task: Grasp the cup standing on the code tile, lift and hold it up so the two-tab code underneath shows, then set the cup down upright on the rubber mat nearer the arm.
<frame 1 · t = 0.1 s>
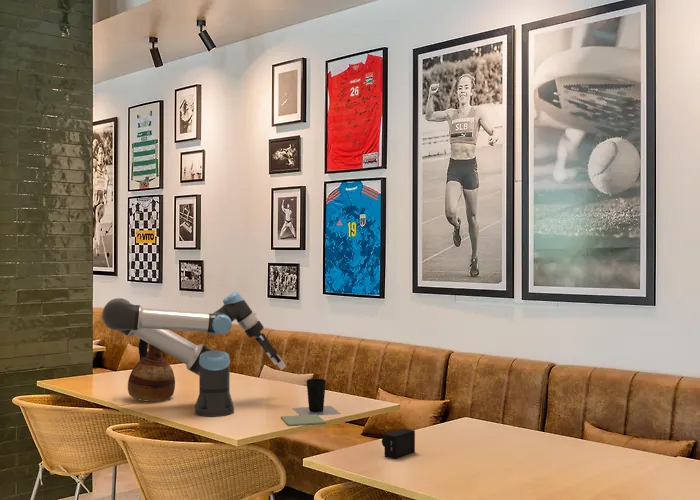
hand: (280, 365, 314), 15 cm above the table, tool tilted 35°, fingers open, 13 cm apart
digital camera: (398, 455, 232), on the table
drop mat: (302, 420, 279), on the table
code tile: (316, 410, 297), on the table
cup: (316, 411, 297), resting on code tile
ceramic pitcher: (151, 399, 320), on the table
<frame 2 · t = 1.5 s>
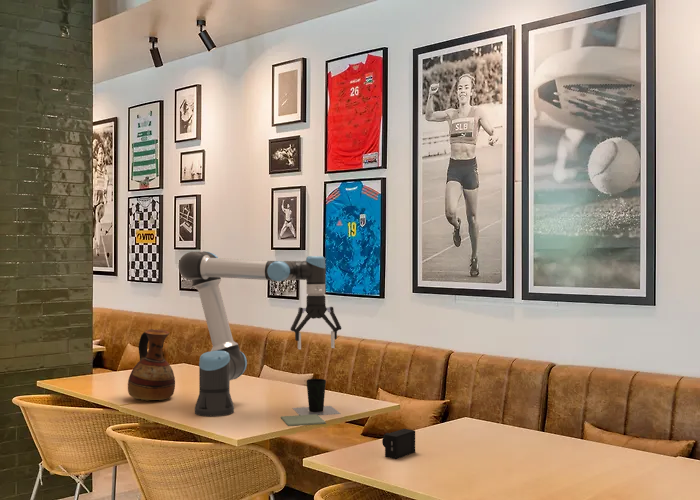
hand: (316, 348, 297), 25 cm above the table, tool pointing down, fingers open, 13 cm apart
nothing on the table moved.
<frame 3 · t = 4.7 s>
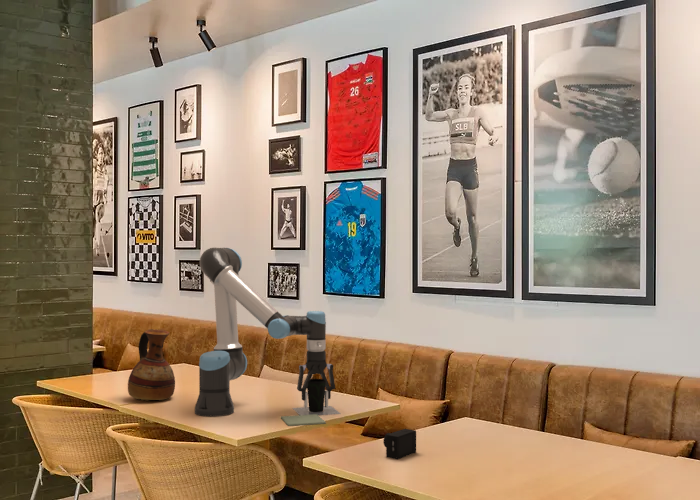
hand: (316, 407, 297), 1 cm above the table, tool pointing down, fingers closed on cup, 8 cm apart
cup: (316, 411, 297), resting on code tile, touching gripper
everything else where it was.
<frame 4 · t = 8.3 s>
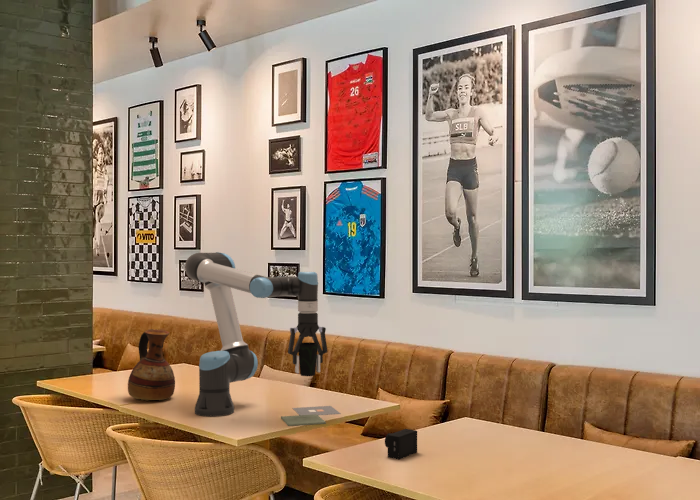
hand: (307, 372, 285), 17 cm above the table, tool pointing down, fingers closed on cup, 8 cm apart
cup: (307, 375, 285), point 16 cm above the table, touching gripper
everything else where it was.
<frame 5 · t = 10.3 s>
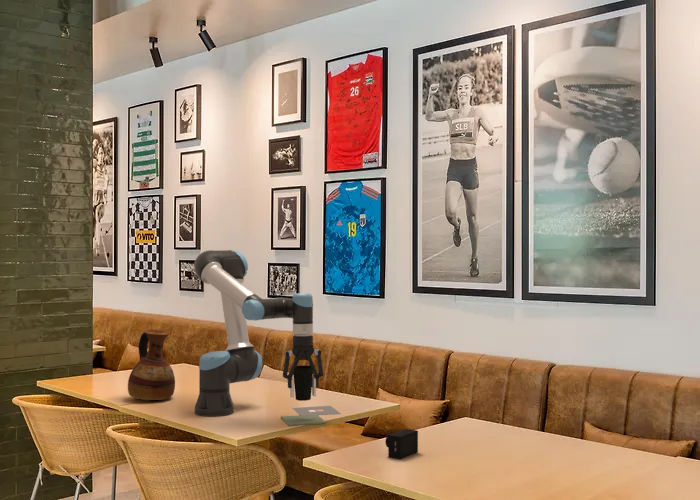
hand: (303, 396, 279), 9 cm above the table, tool pointing down, fingers closed on cup, 8 cm apart
cup: (303, 399, 279), point 8 cm above the table, touching gripper
when the fingers open (3 cm above the table, at t = 12.2 s): cup drops 1 cm, resting on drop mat.
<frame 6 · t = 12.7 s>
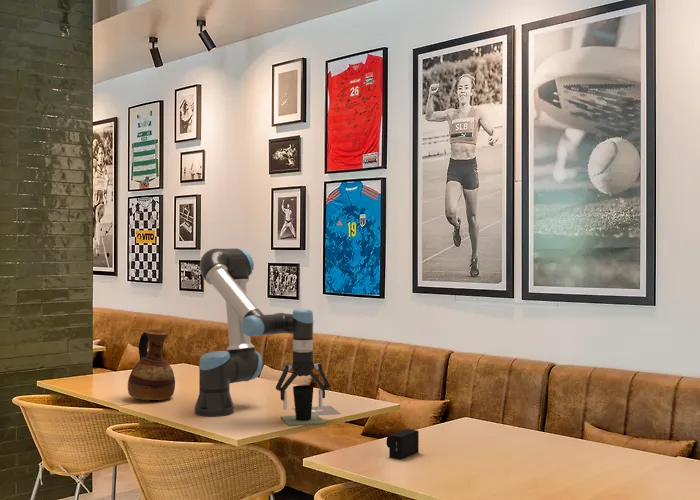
hand: (302, 408, 279), 5 cm above the table, tool pointing down, fingers open, 13 cm apart
cup: (303, 419, 279), resting on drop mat
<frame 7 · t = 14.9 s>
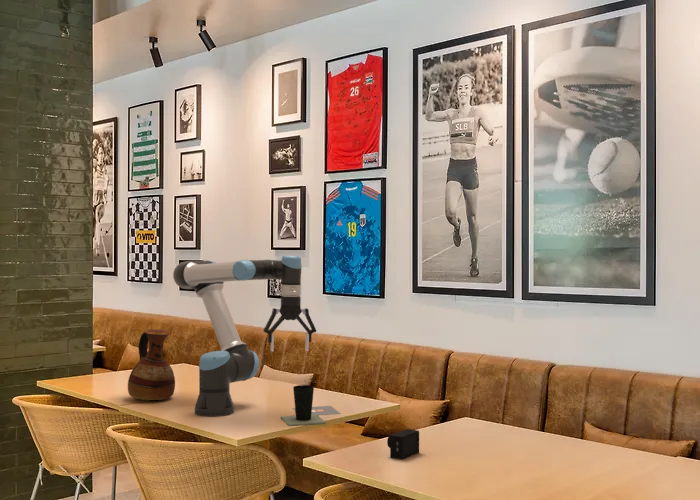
hand: (289, 351, 288), 25 cm above the table, tool pointing down, fingers open, 13 cm apart
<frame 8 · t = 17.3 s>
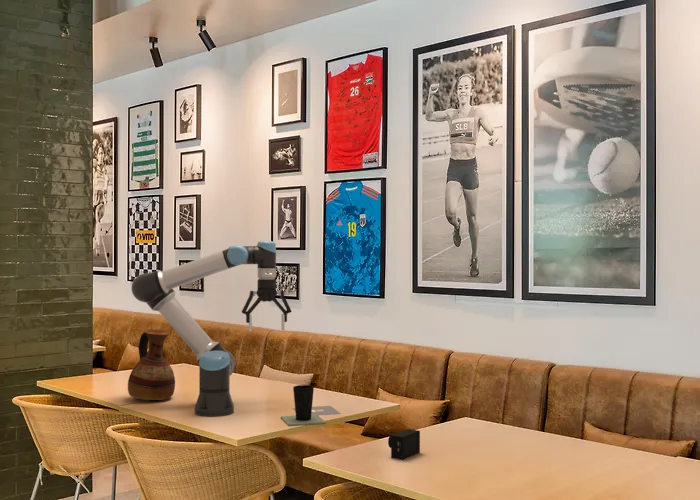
hand: (266, 330, 307), 31 cm above the table, tool pointing down, fingers open, 13 cm apart
at the end: cup inside the target area on the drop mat (0.2 cm from its centre), point 0.4 cm above the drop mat's base; cup tilted 0°; the gripper is holding nothing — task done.
